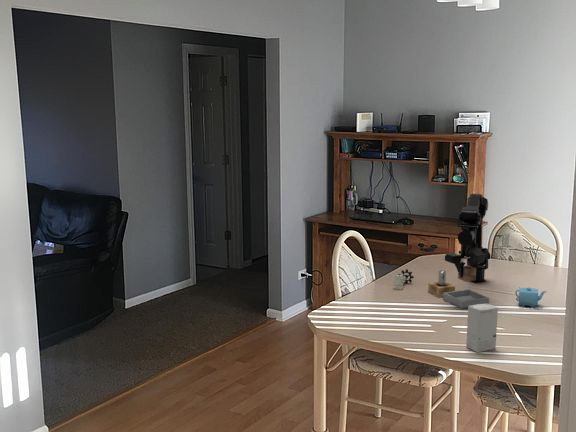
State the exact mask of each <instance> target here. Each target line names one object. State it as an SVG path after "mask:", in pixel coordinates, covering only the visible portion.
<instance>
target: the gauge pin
mask: <svg viewBox="0 0 576 432" xmlns="http://www.w3.org/2000/svg"><path fill="white" fill-rule="evenodd" d="M446 276H447V271H446V270H444V269H443V270H438V276H437V277H438V279H437V282H438V286H440V287H442V286H445V282H447V281H446V278H447V277H446Z"/></svg>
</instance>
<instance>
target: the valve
mask: <svg viewBox="0 0 576 432" xmlns="http://www.w3.org/2000/svg"><path fill="white" fill-rule="evenodd" d="M400 272H401V273H399V272H398V273H395V274H394V280H393V283H394V286H393V287H394V289H395V290H397V291H400V290H403V289H404V283H405V284H406V285H407V284H408V283H412V282H413V280H412V279H414V278H415V276H414V275H412V274H413V271H409V269H408V268H406V269H405V270H403V269H402V270H401V271H400Z"/></svg>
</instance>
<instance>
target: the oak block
mask: <svg viewBox="0 0 576 432" xmlns="http://www.w3.org/2000/svg"><path fill="white" fill-rule="evenodd" d="M427 285H428V287H427V288H428V290H427V292H428V294H431V295H433V296H434V297H436V298H443V293H445V292H452V291H456V286H455V285H453V284H451V283H450V282H447V281H445V286H442V287H440V286H438V281H436V282H431V283H430V282H429V283H428V284H427Z"/></svg>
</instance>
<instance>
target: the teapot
mask: <svg viewBox="0 0 576 432" xmlns="http://www.w3.org/2000/svg"><path fill="white" fill-rule="evenodd" d="M518 288H519V289H517V290H516V291H515V292H514V293H515V296H516V297H515V298H516V301H517V302H518V305H519V306H521V307H522V308H525V307H526V306H527V307H528V306H529V307H530V308H532V309H534V307H538V303H539V301H540V300H542V298H543V295H544V294H545V293H547V292H548V291H546V290H544V291H541V292H540V294H539V289H538V288H532V287H530V286H529V287H518ZM517 292H518V293H517Z"/></svg>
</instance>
